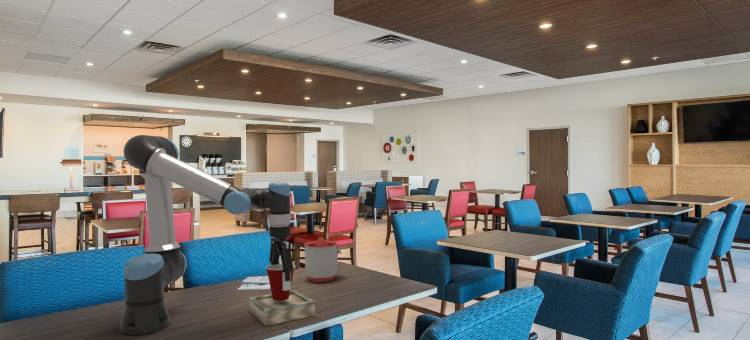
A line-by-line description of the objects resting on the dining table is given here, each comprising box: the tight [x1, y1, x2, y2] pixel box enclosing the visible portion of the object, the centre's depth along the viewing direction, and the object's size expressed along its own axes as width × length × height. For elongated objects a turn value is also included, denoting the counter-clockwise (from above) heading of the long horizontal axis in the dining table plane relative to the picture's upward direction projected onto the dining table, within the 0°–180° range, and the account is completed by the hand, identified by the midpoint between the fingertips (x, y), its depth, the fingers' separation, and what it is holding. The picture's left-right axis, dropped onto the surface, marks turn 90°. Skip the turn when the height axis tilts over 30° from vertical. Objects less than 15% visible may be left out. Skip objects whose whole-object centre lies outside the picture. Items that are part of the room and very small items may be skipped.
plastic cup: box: [264, 263, 297, 301], centre depth 165 cm, size 11×11×12 cm
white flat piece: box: [236, 275, 271, 291], centre depth 205 cm, size 19×20×2 cm
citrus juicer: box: [303, 236, 343, 283], centre depth 211 cm, size 16×17×20 cm
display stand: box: [248, 289, 316, 327], centre depth 165 cm, size 18×18×5 cm
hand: (281, 286), depth 165 cm, fingers closed on plastic cup, 11 cm apart
